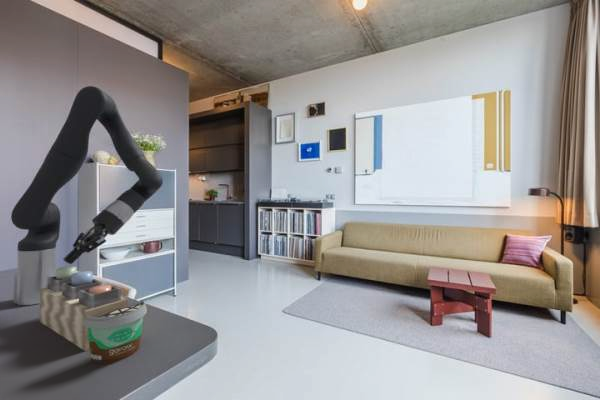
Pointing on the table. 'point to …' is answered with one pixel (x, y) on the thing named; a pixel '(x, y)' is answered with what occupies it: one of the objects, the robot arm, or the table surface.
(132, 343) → the food container
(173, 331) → the table surface
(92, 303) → the button console
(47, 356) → the table surface
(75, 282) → the slate button
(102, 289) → the peach rounded knob
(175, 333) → the table surface
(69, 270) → the sage button
